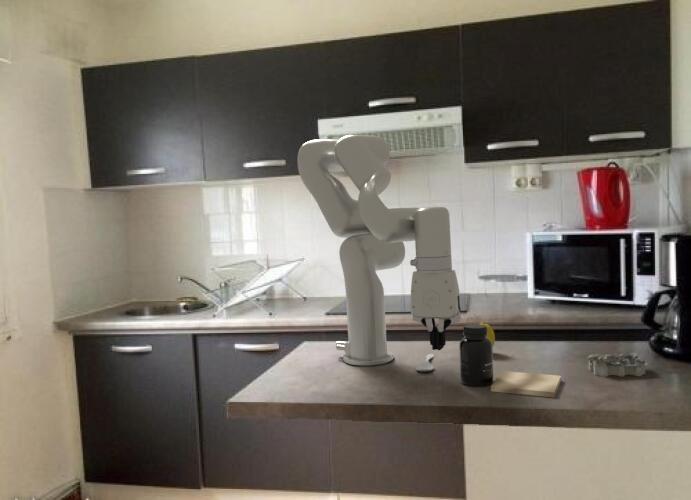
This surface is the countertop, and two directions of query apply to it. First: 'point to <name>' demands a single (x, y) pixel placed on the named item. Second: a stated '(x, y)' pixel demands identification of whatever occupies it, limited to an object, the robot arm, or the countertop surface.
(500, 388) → the cutting board
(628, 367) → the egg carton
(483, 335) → the supplement bottle
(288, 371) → the countertop surface
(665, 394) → the countertop surface
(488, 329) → the lemon
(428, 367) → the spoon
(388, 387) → the countertop surface
